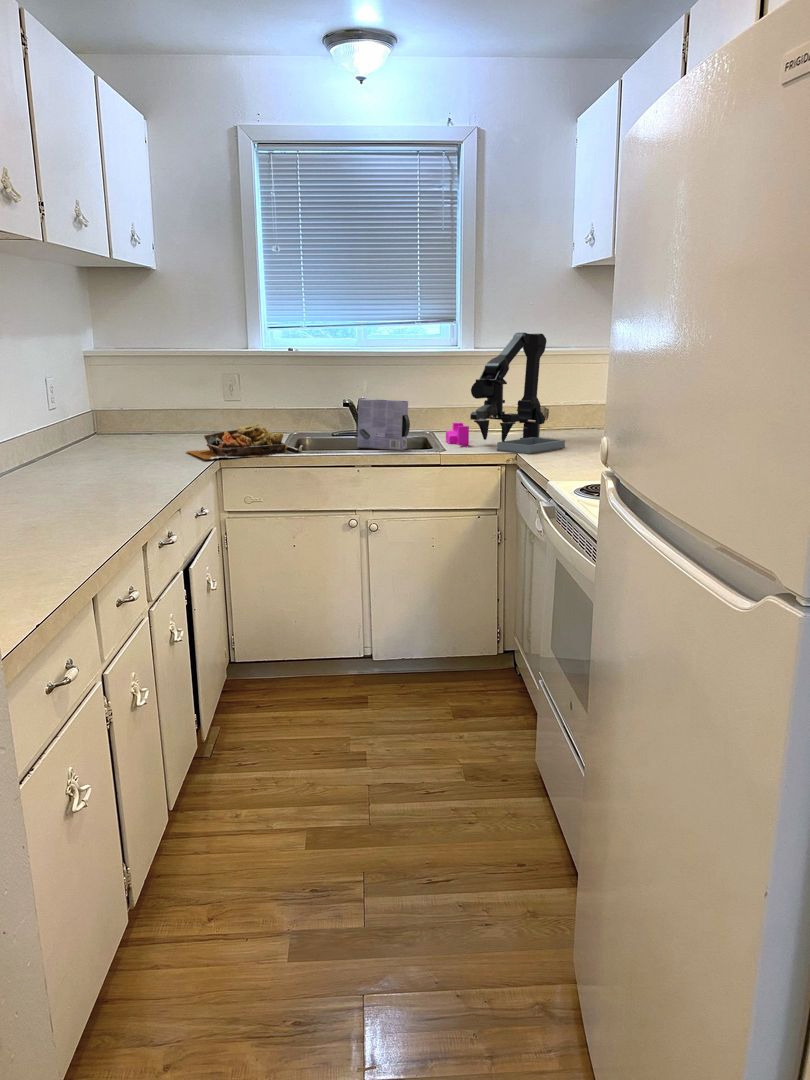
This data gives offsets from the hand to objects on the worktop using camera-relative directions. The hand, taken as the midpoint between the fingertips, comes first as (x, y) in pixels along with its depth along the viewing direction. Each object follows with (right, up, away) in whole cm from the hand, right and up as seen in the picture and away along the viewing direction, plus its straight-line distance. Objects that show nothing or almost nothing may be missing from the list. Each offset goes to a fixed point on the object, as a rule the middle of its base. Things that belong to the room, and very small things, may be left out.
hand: (494, 440), depth 294 cm
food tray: (-89, -6, -11) cm, 90 cm away
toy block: (-13, -1, +8) cm, 15 cm away
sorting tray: (+12, -4, -10) cm, 16 cm away
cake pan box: (-40, -4, -4) cm, 41 cm away
